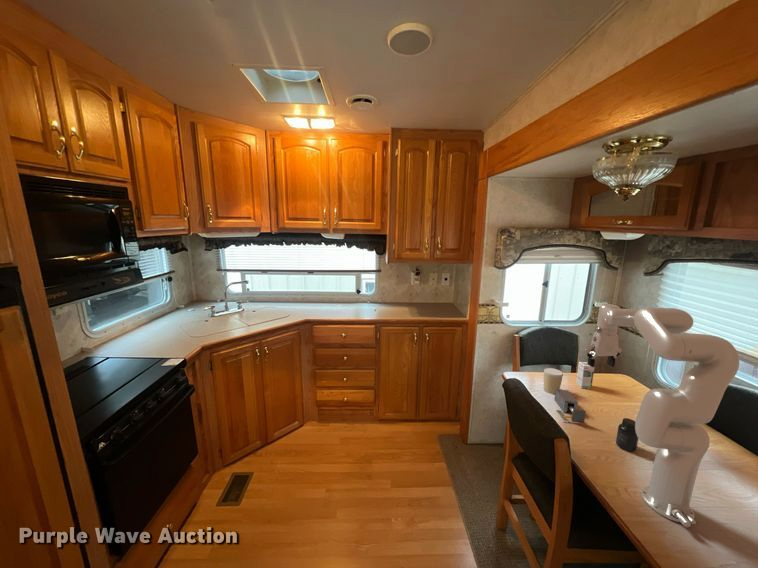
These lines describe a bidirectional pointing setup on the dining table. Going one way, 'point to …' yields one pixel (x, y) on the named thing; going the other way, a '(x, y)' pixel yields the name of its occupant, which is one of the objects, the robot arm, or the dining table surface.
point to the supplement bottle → (627, 435)
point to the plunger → (576, 414)
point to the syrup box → (585, 375)
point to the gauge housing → (564, 402)
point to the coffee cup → (552, 380)
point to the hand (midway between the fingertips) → (600, 365)
